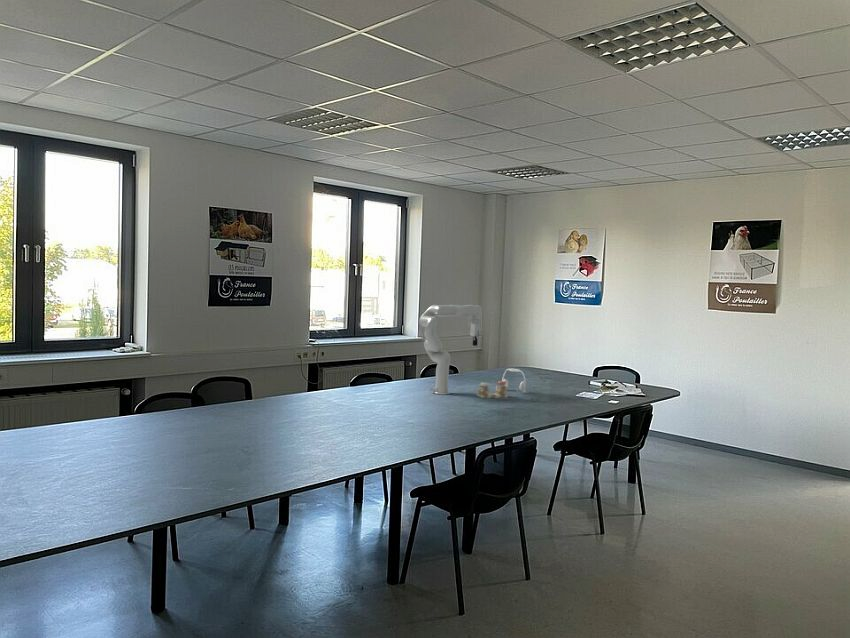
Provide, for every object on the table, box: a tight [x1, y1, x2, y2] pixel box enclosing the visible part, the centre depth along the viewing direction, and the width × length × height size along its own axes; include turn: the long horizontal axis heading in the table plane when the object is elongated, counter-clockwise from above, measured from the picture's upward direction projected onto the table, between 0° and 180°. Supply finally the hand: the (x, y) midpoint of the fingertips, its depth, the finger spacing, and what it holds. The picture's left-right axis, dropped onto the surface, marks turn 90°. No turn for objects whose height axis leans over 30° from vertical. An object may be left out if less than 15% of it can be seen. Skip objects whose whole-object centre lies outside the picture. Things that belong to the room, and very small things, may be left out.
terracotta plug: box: [497, 380, 505, 387], centre depth 468 cm, size 5×5×8 cm
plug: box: [479, 382, 489, 387], centre depth 464 cm, size 5×5×8 cm
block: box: [476, 385, 509, 399], centre depth 466 cm, size 20×10×8 cm, turn 107°
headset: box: [501, 368, 527, 394], centre depth 492 cm, size 20×7×18 cm, turn 53°
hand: (474, 345), depth 486 cm, fingers closed
